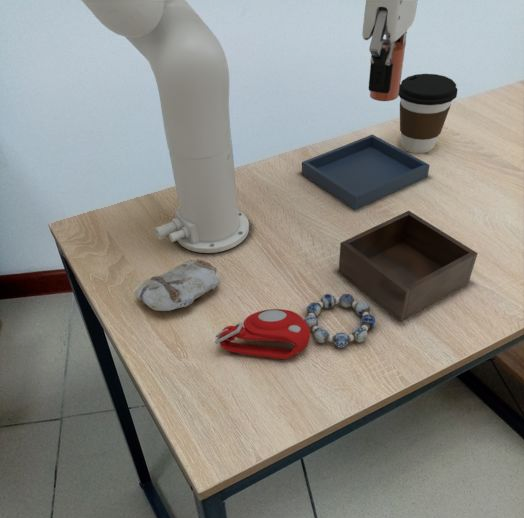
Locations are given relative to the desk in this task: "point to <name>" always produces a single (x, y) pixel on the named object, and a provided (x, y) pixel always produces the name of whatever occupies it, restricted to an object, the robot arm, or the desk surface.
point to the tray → (364, 171)
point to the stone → (178, 286)
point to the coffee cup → (424, 109)
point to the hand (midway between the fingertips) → (384, 83)
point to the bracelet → (340, 338)
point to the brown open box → (406, 264)
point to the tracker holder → (267, 333)
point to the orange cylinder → (396, 74)
